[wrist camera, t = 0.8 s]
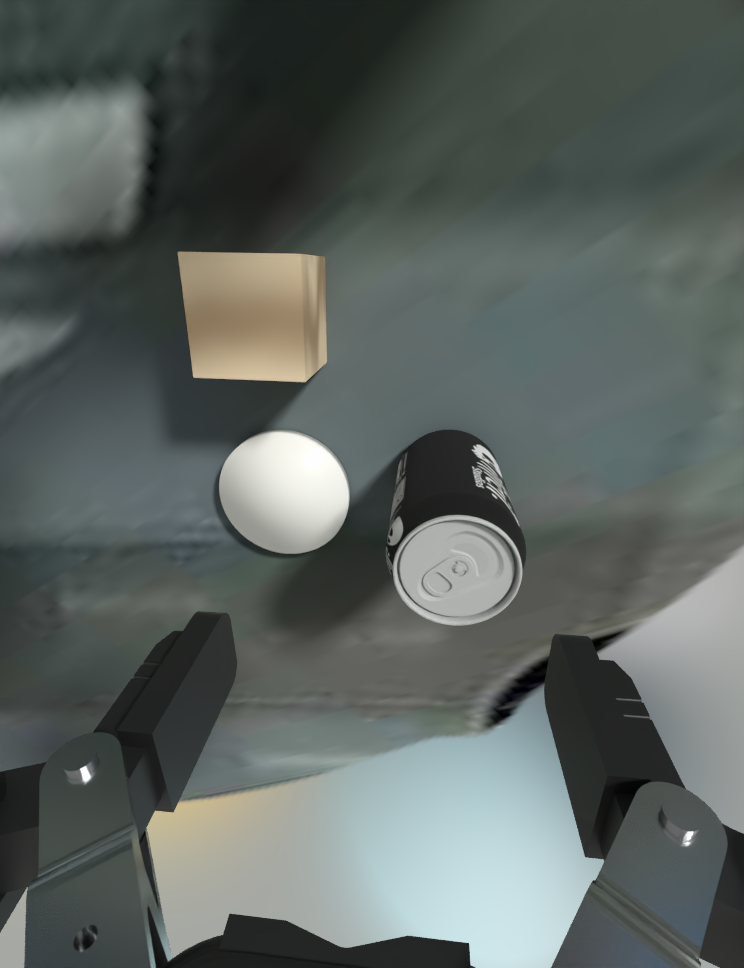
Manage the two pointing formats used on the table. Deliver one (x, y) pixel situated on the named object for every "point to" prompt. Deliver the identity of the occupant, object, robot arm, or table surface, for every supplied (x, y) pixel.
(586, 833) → the robot arm
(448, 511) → the beverage can
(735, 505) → the table surface
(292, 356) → the oak cube
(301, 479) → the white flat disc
